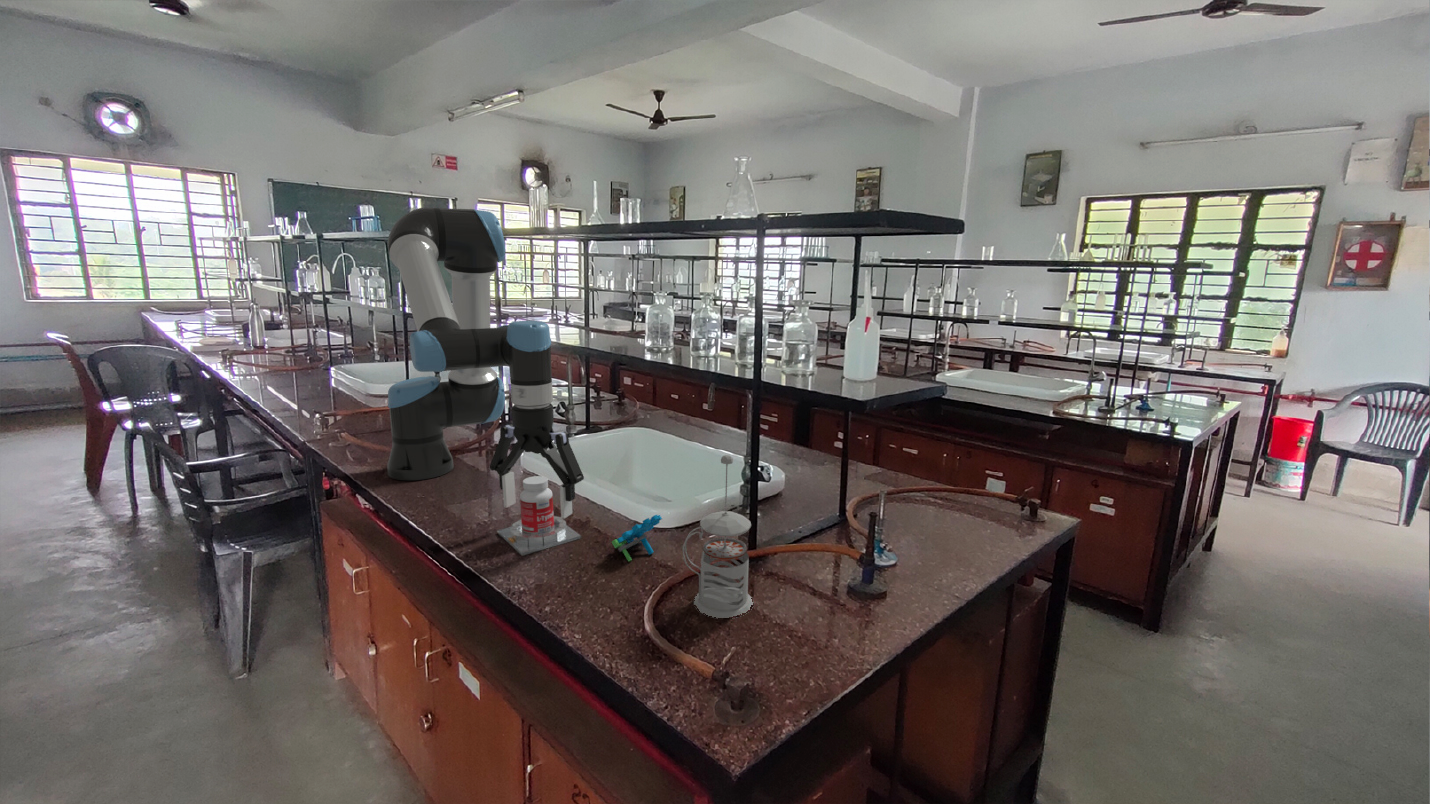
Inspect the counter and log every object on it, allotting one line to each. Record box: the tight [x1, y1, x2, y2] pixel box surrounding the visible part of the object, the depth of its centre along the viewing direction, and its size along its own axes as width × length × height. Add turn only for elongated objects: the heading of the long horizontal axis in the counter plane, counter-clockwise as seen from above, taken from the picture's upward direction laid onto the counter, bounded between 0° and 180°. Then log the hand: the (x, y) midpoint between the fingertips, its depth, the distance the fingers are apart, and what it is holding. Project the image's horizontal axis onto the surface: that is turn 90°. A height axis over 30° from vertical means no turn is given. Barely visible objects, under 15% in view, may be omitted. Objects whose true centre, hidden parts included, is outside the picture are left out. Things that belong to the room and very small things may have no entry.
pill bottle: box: [519, 475, 555, 535], centre depth 122 cm, size 6×6×11 cm
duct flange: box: [497, 515, 582, 557], centre depth 123 cm, size 12×12×2 cm
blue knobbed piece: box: [611, 514, 663, 562], centre depth 117 cm, size 11×6×10 cm
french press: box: [682, 454, 754, 619], centre depth 99 cm, size 10×12×25 cm
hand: (537, 510), depth 122 cm, fingers open, 13 cm apart
